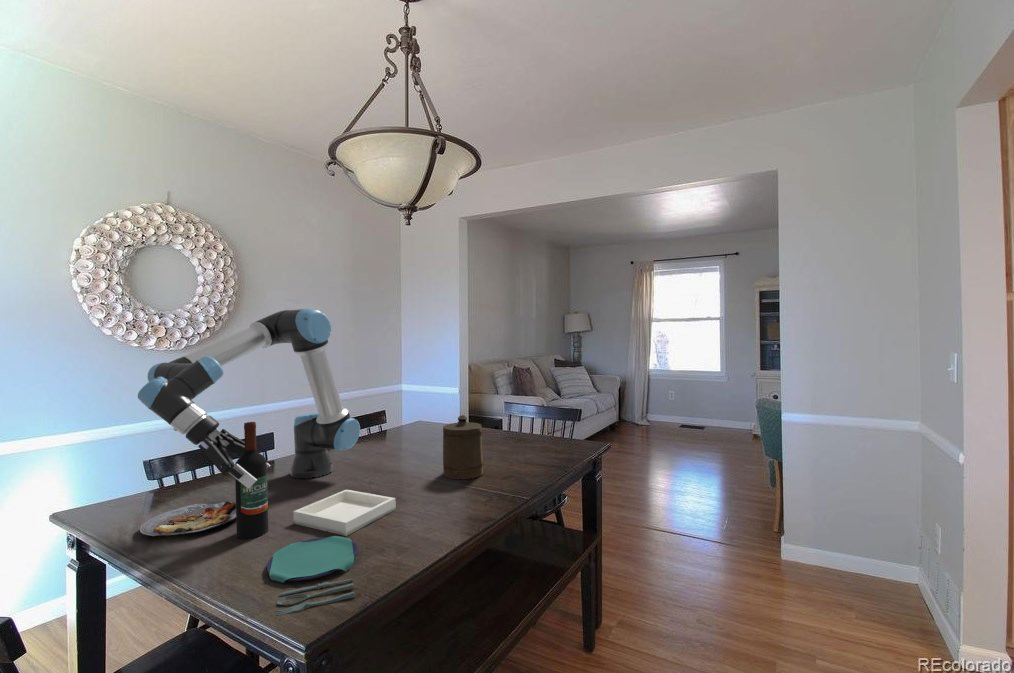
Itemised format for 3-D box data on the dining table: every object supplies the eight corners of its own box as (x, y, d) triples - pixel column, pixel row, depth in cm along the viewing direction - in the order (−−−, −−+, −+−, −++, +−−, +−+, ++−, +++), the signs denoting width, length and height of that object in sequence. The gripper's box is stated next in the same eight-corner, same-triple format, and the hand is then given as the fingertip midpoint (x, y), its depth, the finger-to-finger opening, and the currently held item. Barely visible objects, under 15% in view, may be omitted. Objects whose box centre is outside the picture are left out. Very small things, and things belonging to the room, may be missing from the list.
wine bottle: (263, 525, 133) (260, 419, 133) (272, 532, 128) (269, 422, 127) (233, 533, 128) (230, 423, 127) (241, 541, 122) (238, 426, 122)
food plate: (257, 504, 149) (256, 493, 149) (226, 536, 126) (225, 523, 126) (169, 513, 145) (169, 501, 145) (122, 548, 122) (121, 534, 122)
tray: (293, 523, 134) (293, 511, 133) (346, 500, 151) (346, 489, 151) (346, 535, 125) (346, 522, 125) (395, 509, 143) (395, 498, 143)
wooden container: (473, 466, 188) (472, 411, 187) (489, 476, 174) (488, 416, 174) (438, 471, 181) (437, 414, 181) (451, 482, 168) (450, 420, 167)
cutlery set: (355, 538, 124) (355, 529, 123) (365, 600, 96) (364, 589, 96) (271, 553, 116) (270, 544, 116) (254, 625, 88) (254, 613, 88)
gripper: (203, 426, 136) (262, 473, 140) (162, 446, 112) (234, 503, 115) (223, 407, 137) (281, 454, 141) (187, 423, 113) (257, 479, 116)
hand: (260, 476), depth 128 cm, fingers open, 13 cm apart
